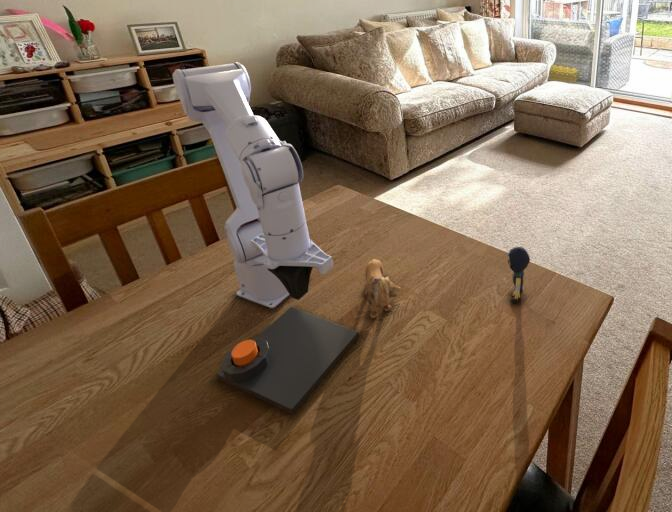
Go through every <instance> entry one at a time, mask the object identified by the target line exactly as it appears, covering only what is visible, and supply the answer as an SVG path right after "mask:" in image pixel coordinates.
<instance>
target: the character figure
mask: <svg viewBox="0 0 672 512" xmlns="http://www.w3.org/2000/svg"><path fill="white" fill-rule="evenodd" d="M507 256H508V259H507V262H508V263H507V264H508V265H509V268H510V270H511V271H512V272H513V273H512V282H513V284H514V285H513V286H514V289H513V292H511V293H510V295H511V299H510V302H511V303H513V304H519V303H521V302H522V294H523V292H524V289H523V287H524V276H525V270H526V269H527V267H528V266H529V264H530V262H531V258H530V255H529V252H528V251H527V249H526V248H524V247H522V246H516V247H512V248H511V249H509V251H508V252H507Z"/></svg>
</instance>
